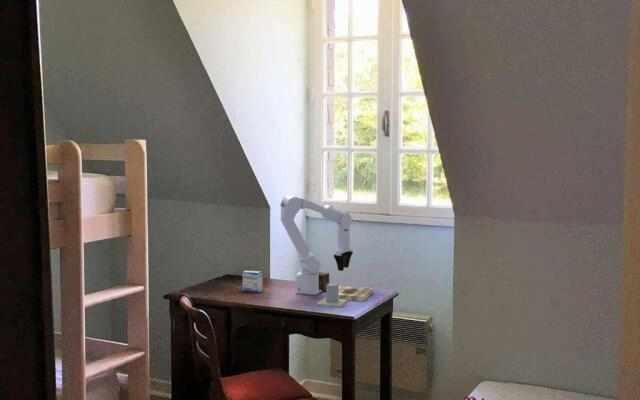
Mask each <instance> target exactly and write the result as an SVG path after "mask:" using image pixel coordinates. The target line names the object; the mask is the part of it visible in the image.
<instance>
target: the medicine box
mask: <svg viewBox="0 0 640 400" xmlns="http://www.w3.org/2000/svg"><path fill="white" fill-rule="evenodd" d="M242 291H243V292H251V293H253V292H254V293H260V292H261V291H263V271H258V270H244V271H242Z"/></svg>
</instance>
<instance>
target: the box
mask: <svg viewBox="0 0 640 400" xmlns="http://www.w3.org/2000/svg"><path fill="white" fill-rule="evenodd" d="M329 283H330V272H324V271H323V272H322V271H319V290H322V291H321V292H325V291H326V285H328V284H329Z"/></svg>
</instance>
